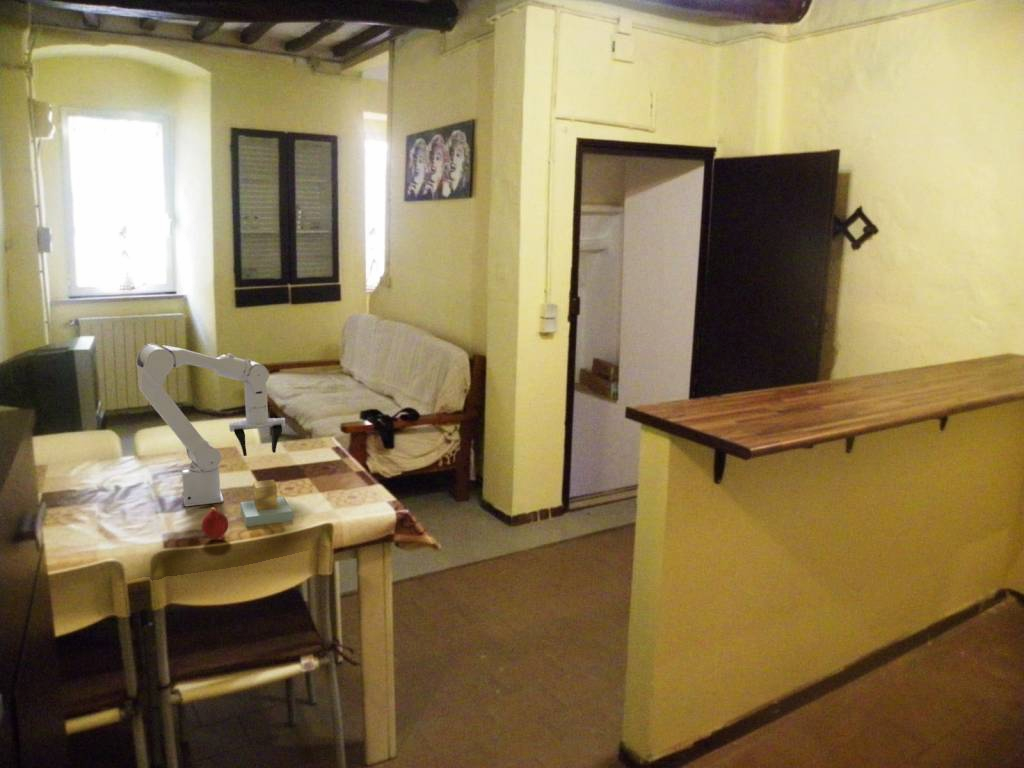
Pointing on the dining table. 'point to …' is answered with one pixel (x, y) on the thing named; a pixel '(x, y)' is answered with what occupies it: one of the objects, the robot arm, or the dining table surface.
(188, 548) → the dining table surface
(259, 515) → the base block
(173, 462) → the dining table surface
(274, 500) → the ochre block
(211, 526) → the onion
